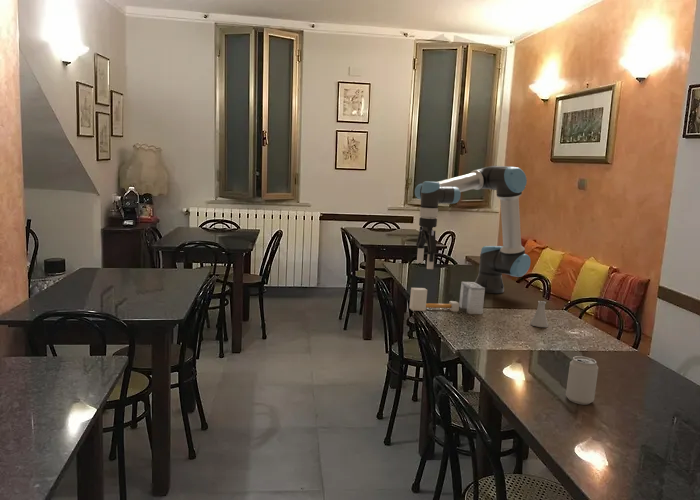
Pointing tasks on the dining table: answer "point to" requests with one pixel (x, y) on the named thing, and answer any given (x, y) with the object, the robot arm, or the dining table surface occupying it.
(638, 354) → the dining table surface
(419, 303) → the white and wooden mallet
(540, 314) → the flask
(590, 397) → the can
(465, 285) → the housing
